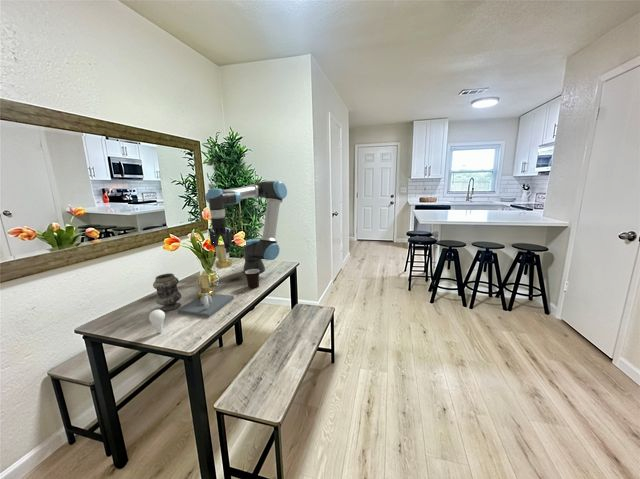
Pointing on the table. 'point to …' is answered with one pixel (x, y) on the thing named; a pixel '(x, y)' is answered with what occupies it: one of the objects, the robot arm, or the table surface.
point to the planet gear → (222, 258)
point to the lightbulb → (157, 320)
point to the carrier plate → (205, 313)
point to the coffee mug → (252, 278)
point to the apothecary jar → (167, 292)
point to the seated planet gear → (204, 287)
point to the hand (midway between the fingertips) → (222, 257)
